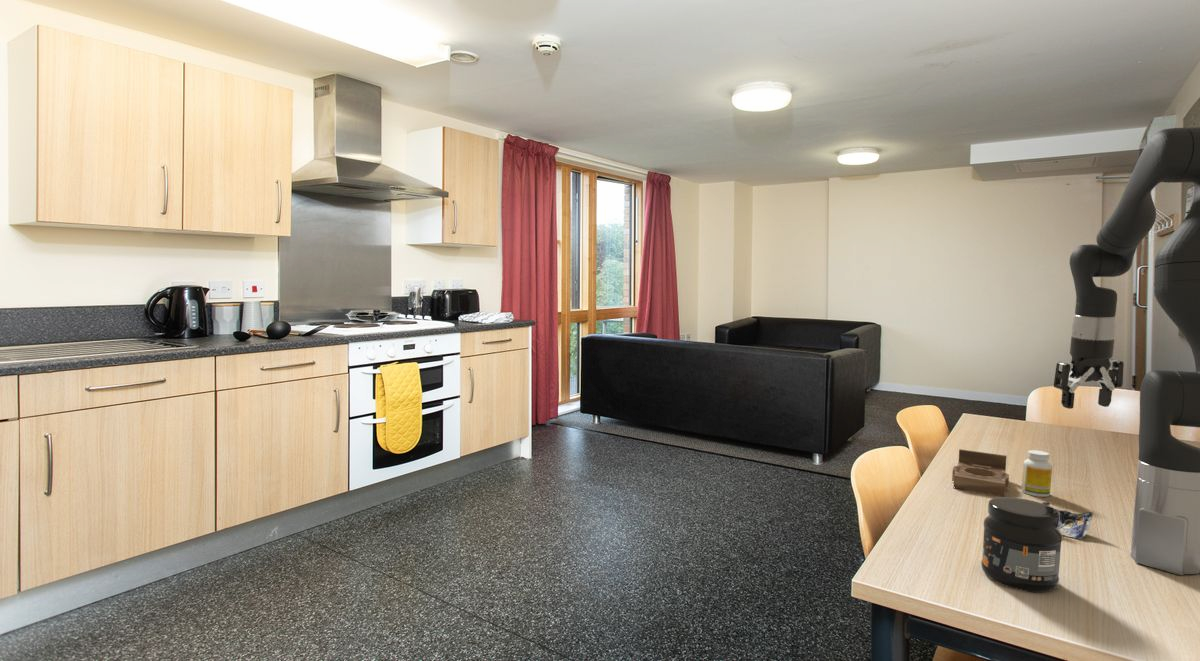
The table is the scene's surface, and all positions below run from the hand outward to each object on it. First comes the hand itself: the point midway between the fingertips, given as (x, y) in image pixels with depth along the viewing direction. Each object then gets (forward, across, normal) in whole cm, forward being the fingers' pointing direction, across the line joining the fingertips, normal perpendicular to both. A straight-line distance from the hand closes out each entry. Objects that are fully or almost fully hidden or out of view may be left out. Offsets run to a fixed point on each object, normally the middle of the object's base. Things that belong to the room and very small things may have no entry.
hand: (1085, 406), depth 141 cm
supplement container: (+15, -45, -39) cm, 62 cm away
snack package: (+18, -22, -18) cm, 34 cm away
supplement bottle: (+20, -10, 0) cm, 23 cm away
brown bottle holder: (+20, -18, +7) cm, 28 cm away
